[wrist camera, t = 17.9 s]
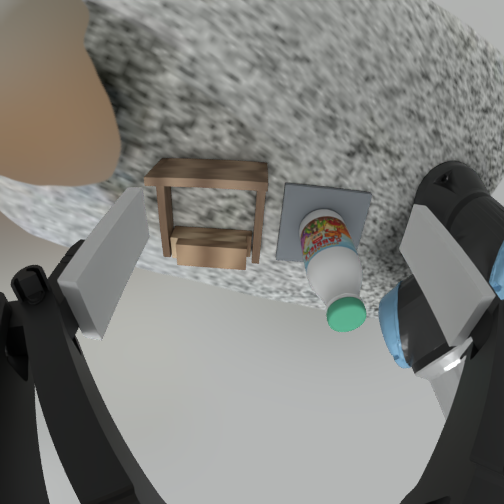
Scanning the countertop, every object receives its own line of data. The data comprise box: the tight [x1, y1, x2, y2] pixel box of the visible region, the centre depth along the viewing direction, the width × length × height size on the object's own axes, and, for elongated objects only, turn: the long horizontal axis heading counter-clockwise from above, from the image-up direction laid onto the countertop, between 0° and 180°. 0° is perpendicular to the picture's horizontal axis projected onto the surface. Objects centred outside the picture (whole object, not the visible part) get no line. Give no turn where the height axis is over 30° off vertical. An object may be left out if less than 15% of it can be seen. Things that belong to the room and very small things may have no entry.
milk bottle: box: [299, 209, 366, 332], centre depth 40 cm, size 8×8×20 cm
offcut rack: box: [144, 158, 268, 270], centre depth 44 cm, size 16×16×8 cm
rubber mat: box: [276, 183, 372, 262], centre depth 49 cm, size 14×14×1 cm
